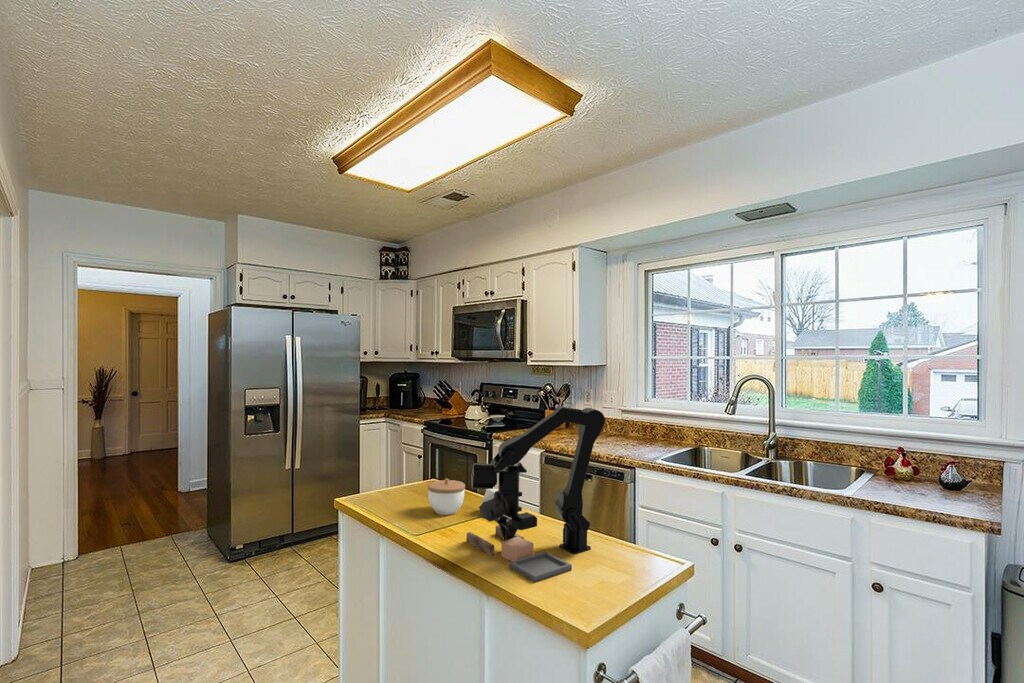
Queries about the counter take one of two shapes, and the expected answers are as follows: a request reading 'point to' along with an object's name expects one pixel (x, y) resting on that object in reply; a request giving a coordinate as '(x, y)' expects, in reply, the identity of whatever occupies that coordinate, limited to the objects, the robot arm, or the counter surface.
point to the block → (516, 548)
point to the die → (489, 494)
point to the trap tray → (540, 566)
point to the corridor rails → (484, 544)
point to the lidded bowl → (446, 496)
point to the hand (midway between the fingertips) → (507, 545)
